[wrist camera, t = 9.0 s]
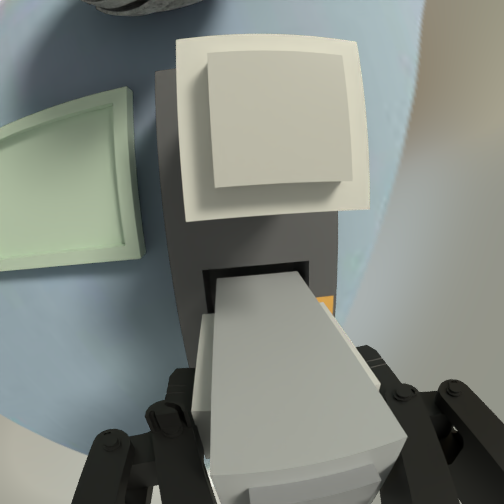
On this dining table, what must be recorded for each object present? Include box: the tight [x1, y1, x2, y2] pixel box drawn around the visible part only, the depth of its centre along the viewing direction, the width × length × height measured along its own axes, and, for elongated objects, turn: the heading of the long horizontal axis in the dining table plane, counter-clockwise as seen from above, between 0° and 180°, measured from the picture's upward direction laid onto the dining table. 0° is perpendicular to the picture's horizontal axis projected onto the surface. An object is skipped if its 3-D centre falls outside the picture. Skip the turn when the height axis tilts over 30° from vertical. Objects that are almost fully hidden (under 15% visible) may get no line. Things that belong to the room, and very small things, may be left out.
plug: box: [210, 271, 408, 504], centre depth 11 cm, size 4×4×13 cm
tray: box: [0, 86, 146, 271], centre depth 18 cm, size 16×12×2 cm
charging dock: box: [155, 34, 370, 368], centre depth 14 cm, size 9×18×15 cm, turn 4°
